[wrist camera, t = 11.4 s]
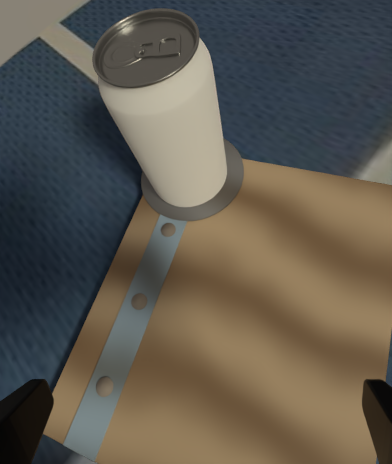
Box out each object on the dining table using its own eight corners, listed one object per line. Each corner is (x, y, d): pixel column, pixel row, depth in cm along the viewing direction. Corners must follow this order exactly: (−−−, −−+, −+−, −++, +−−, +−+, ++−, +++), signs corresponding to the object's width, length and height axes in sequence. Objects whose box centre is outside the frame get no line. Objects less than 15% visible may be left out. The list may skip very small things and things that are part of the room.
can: (155, 150, 28) (92, 15, 17) (225, 141, 27) (206, -8, 16) (151, 213, 25) (75, 102, 15) (229, 206, 24) (209, 81, 14)
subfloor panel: (351, 587, 16) (360, 607, 15) (35, 420, 22) (22, 423, 21) (403, 175, 24) (411, 164, 23) (166, 135, 30) (163, 125, 29)
